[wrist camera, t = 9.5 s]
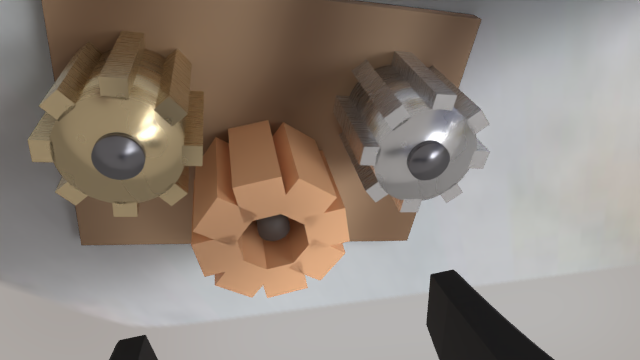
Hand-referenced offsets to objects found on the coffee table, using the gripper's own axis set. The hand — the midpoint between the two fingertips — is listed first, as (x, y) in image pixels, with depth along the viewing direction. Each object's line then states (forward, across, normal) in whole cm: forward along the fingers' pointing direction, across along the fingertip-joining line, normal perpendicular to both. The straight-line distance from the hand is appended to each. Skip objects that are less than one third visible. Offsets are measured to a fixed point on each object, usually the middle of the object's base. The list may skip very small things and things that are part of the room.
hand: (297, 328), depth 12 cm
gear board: (+9, 0, -1) cm, 9 cm away
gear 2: (+9, -5, -1) cm, 11 cm away
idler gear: (+9, 0, +1) cm, 9 cm away
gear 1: (+9, +4, -3) cm, 11 cm away
